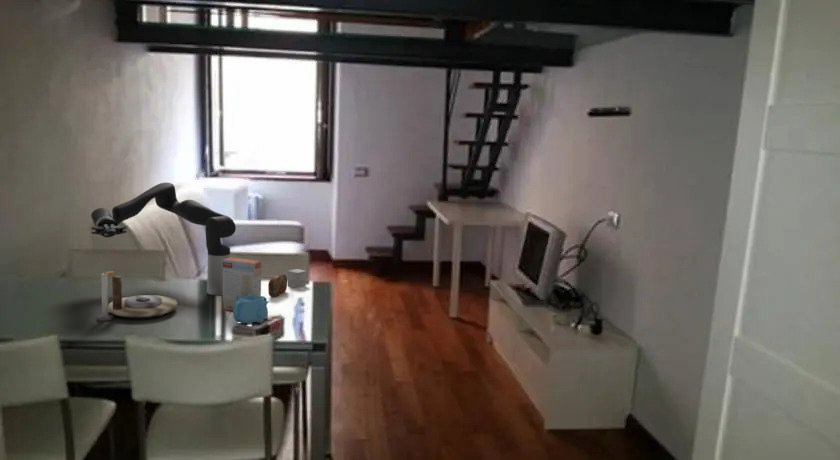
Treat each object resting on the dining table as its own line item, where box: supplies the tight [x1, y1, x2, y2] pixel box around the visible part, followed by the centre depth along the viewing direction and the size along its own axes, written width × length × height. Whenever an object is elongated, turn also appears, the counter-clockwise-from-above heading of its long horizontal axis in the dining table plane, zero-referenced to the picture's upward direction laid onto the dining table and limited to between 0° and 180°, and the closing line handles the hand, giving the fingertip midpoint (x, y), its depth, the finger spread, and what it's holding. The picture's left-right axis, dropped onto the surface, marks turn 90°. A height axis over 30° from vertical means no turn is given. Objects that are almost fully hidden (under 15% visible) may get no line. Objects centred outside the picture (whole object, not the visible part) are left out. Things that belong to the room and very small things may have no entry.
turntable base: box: [119, 313, 167, 320], centre depth 244 cm, size 18×18×2 cm
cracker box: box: [222, 256, 262, 313], centre depth 251 cm, size 14×6×21 cm, turn 71°
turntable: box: [108, 275, 178, 317], centre depth 243 cm, size 24×24×14 cm
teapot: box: [232, 294, 270, 324], centre depth 239 cm, size 13×14×11 cm
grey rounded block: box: [287, 268, 307, 289], centre depth 295 cm, size 6×6×7 cm
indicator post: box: [96, 270, 115, 322], centre depth 232 cm, size 6×5×17 cm
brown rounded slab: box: [267, 274, 288, 298], centre depth 279 cm, size 15×3×8 cm, turn 168°
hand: (111, 233), depth 243 cm, fingers closed
